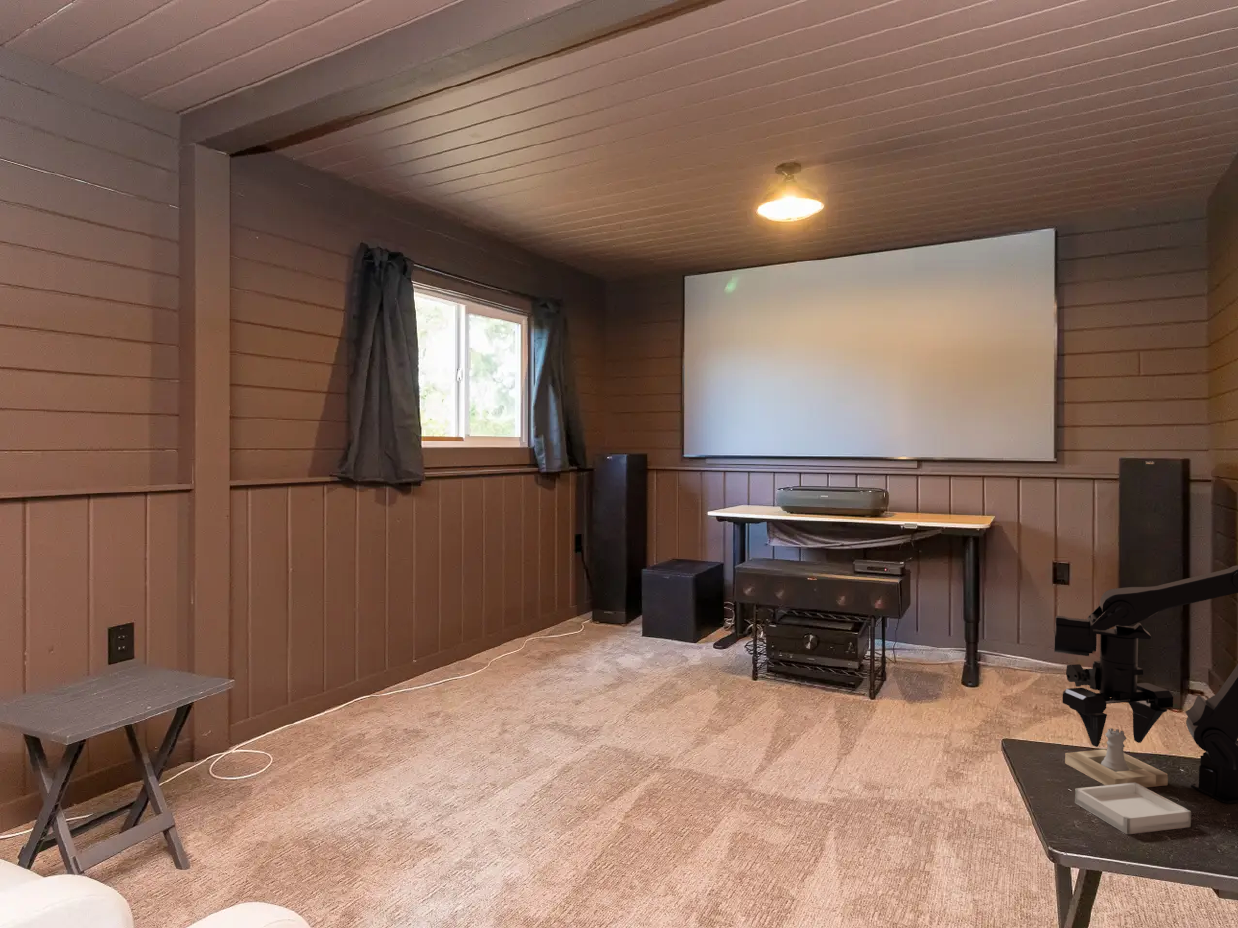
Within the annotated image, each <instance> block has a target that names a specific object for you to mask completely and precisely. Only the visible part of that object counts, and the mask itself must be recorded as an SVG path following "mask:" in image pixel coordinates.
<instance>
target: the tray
mask: <svg viewBox="0 0 1238 928" xmlns="http://www.w3.org/2000/svg"><path fill="white" fill-rule="evenodd" d="M1074 790H1075V791H1074V804H1075V805H1077V806H1079V807H1081V808H1082V809H1084V810H1086V811H1087V812H1089V813H1090V814H1092V815H1094V816H1095V817H1097V818H1099V819H1100V820H1102V821H1104V822H1105V823H1107V824H1108V825H1110V826H1112V827H1113V828H1115V829H1117V830H1118V831H1120V832H1122V833H1123V834H1124V835H1133V834H1143V833H1151V832H1158V831H1167V830H1175V829H1176V830H1177V829H1184V828H1185V829H1186V828H1191V826H1192V824H1191V823H1192V811H1191V810H1189V809H1187V808H1186V807H1184V806H1182V805H1180V804H1179V803H1176V802H1174V801H1172V800H1170V799H1168V798H1166V797H1164V796H1162V795H1161V794H1158V793H1156V792H1154V791H1153V790H1150V789H1148V787H1143V786H1141V785H1139V784H1137V783H1135V782H1134V783H1125V784H1115V785H1099V786H1098V785H1097V786H1087V787H1077V788H1075V789H1074Z"/></svg>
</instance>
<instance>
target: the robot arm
mask: <svg viewBox="0 0 1238 928" xmlns="http://www.w3.org/2000/svg"><path fill="white" fill-rule="evenodd" d="M1234 594H1238V565H1233V566H1230V567H1228V568H1226V569H1222V570H1217V571H1213V572H1209V573H1205V574H1201V575H1196V576H1192V577H1189V578H1184V579H1180V580H1176V581H1172V582H1168V583H1164V584H1159V585H1155V586H1154V585H1153V586H1130V587H1128V586H1127V587H1119V588H1117V587H1116V588H1112V589H1109V590H1106V591H1104V592H1103V594H1102V595H1101V597H1100V599H1099V605H1098V606H1097V607H1096V609H1094V610H1093V611H1092V612H1091V613H1090V614H1089V615H1088V616H1087V618H1086V619H1085V618H1084V619H1083V618H1074V617H1067V616H1064V615H1056V616H1055V623H1054V630H1053V633H1052V634H1053V637H1052V638H1053V641H1052V642H1053V645H1052V647H1053V653H1058V654H1059V653H1060V654H1068V655H1076V656H1083V657H1084V656H1085V657H1090V654H1093V653H1094V652H1097V647H1098V646H1097V638H1098V637H1097V635H1099V636H1100V637H1099V638H1100V639H1099V660H1095V661H1093V663H1092V668H1083V666H1082V665H1081V664H1080V663H1079V664H1067V665H1066V669H1065V670H1066V671H1065V675H1066V679H1067V681H1068V682H1069V683H1074V684H1075V687H1074V688H1072V687H1071V688H1066V689H1065V690H1063V691H1062V699H1061V700H1062V702H1061V703H1062V704H1064V705H1066V706H1068V707H1069V708H1070V709H1072V710H1074V711H1076V712H1077V714H1078V715H1079V716H1080V718H1081V721H1082V723H1083V725H1084V727H1085V730H1086V733H1087V737H1088V738H1089V740H1090V743H1091V745H1092V746H1094V747H1095V748H1098V747H1099V746H1100V743H1101V740H1102V737H1103V733H1104V729H1105V725H1106V720H1107V718H1108V717H1107V716H1108V714H1107V713H1104V712H1105V711H1106V709H1107V704H1108V705H1111V704H1120V703H1121V704H1123V703H1128V704H1129V706H1130V708H1131V711H1132V728H1133V730H1132V733H1133V740H1134V742H1136V743H1138V744H1141V743H1142V742H1143V740H1144V739H1145V737H1146V736H1147V734H1149V731H1150V730H1151V729H1152V728H1153V726H1154V725H1155V723H1156V722H1157V721H1158V720H1159V718H1160V717H1161V716H1162V715H1163V714H1164V713H1167V711H1168V708H1174V696H1173V694H1172V693H1171V691H1170V690H1168V689H1166V688H1163V687H1161V686H1157V685H1155V684H1152V683H1150V682H1139V683H1138V676H1142V675H1144V668H1141V667H1138V657H1139V656H1138V653H1139V649H1138V648H1139V639H1140V640H1146V641H1147V640H1149V641H1151V640H1152V636H1151V634H1150V633H1149V632H1148V630H1146V629H1145V628H1144V627H1143V625H1142V624H1141V623H1140V622H1142V621H1144V620H1147V619H1149V618H1151V617H1152V616H1154V615H1156V614H1158V613H1160V612H1163V611H1165V610H1167V609H1168V610H1169V609H1172V608H1176V607H1180V606H1186V605H1189V604H1195V603H1199V602H1203V601H1207V600H1213V599H1217V598H1220V597H1226V596H1229V595H1234ZM1134 624H1135V625H1134ZM1131 625H1133V626H1131ZM1081 686H1089V689H1092V690H1094V691H1092V690H1089V689H1087V688H1085V687H1081ZM1095 691H1098V692H1095ZM1185 714H1186V716H1187V718H1186V722H1185V724H1186V728H1187V731H1188V732H1189V734H1190V735H1191V737H1192V739H1193V741H1194V742H1195V744H1196V745H1197V747H1199V749H1201V750H1203V751H1204V752H1203V753H1202V755H1200V760H1199V762H1200V763H1199V765H1198V766H1199V767H1198V782H1192V783H1191V782H1190V786H1191V788H1193V789H1195V790H1198V791H1200V792H1201V793H1204V794H1205V795H1208V796H1210V797H1212V798H1213V799H1216V800H1218V801H1219V802H1220V801H1221V802H1222V803H1223V804H1234V803H1238V664H1236V666H1235V667H1234V669H1233V670H1232V672H1231V673H1230V675H1228V678H1227V679H1226V680H1225V682H1224V683H1223V685H1222V686H1221V688H1219V690H1218V692H1216V694H1214V695H1212V696H1211V697H1209V698H1207V699H1206V698H1204V697H1202V696H1201V695H1197V697H1196V698H1195V700H1194V702H1193V705H1192V706H1191V707H1190V708H1189V709H1188V710H1186V711H1185Z"/></svg>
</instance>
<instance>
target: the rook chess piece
mask: <svg viewBox="0 0 1238 928" xmlns="http://www.w3.org/2000/svg"><path fill="white" fill-rule="evenodd" d="M1104 735H1105V737H1106V738H1107V741H1106V742H1105V743H1106V745H1107V747H1106V749H1107V753H1106V757H1105V758H1104V760H1103V761H1102V762H1101V765H1103V766H1105V767H1107V768H1109V769H1111V770H1113V771H1115V772H1118V771H1129V767H1128V766H1127V765H1126V762H1125V759H1124V753H1125V752H1124V748H1125V744H1124V741H1126V740H1127V738H1128V737H1126V735H1125V732H1124V731H1123V730H1120V728H1119V729H1118V728H1115V730H1114V728H1107V731H1106V732H1105V733H1104Z"/></svg>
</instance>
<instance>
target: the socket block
mask: <svg viewBox="0 0 1238 928" xmlns="http://www.w3.org/2000/svg"><path fill="white" fill-rule="evenodd" d="M1106 753H1107V748H1105V749H1094V750H1085V751H1084V750H1082V751H1072V752H1065V753H1064V754H1065V756H1064V757H1065V758H1064V764H1066V765H1067V766H1069V767H1071V768H1073V769H1074V770H1077V771H1078V772H1080V773H1082V774H1084V775H1086V776H1087V777H1088V778H1091V779H1092V780H1095V781H1097V782H1098V783H1100V784H1102V785H1103V786H1105V785H1115V784H1125V783H1134V782H1135V783H1137V784H1139V785H1141V786H1143V787H1145V788H1153V787H1161V786H1162V787H1163V786H1168V781H1169V774H1168V773H1166V772H1164V771H1162V770H1161V769H1158V768H1156V767H1154V766H1152V765H1150V764H1148V763H1146V762H1144V761H1142V760H1139V759H1138V758H1135V757H1134V756H1131V755H1129V754H1127V753H1125V752H1123V753H1124V759H1125V762H1126V765H1127V766H1128V767H1129V771H1118V772H1115V771H1113V770H1111V769H1109V768H1107V767H1105V766H1103V765H1101V762H1102V761H1103V760H1104V758H1105V757H1106Z"/></svg>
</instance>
